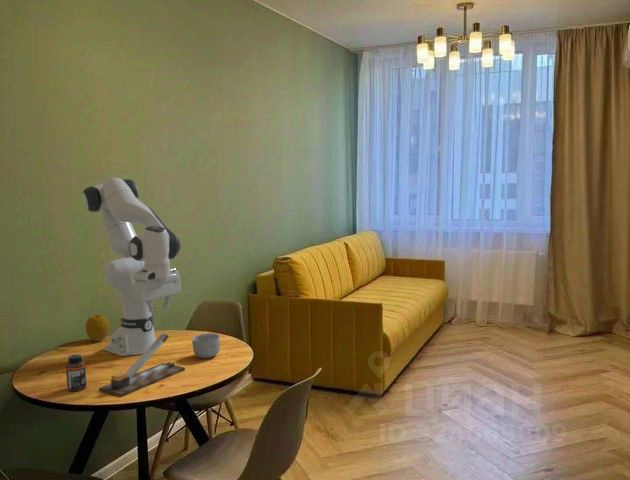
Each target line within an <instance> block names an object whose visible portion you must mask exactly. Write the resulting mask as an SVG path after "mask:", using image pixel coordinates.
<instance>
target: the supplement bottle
mask: <svg viewBox="0 0 630 480" xmlns="http://www.w3.org/2000/svg"><path fill="white" fill-rule="evenodd" d="M82 359H83V357H82V354H72V355H69V356H68V362H67V363H66V364H65V372H66V384H67V385H66V386H67V390H68V391H70V392H80V391H82V389H83V390H85V389H86V388H87V373H86V372H87V371H86V363H85V361H84V360H82ZM79 390H80V391H79Z"/></svg>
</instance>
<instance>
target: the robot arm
mask: <svg viewBox="0 0 630 480" xmlns="http://www.w3.org/2000/svg"><path fill="white" fill-rule="evenodd" d="M81 199H82V202H83V203H82V204H83V205H84V206H85V208H86V209H87V210H88V211H89V212H90V213H91V212H92V213H95V212H96V213H97V212H99V211H100V212H101V211H102V212H101V219H102V225H103V229H104V232H105V235H106V237H107V239H108V243H109V244H110V248H111V249H112V251H113V252H114V253H115V254H118V255H120V256H122V257H121V258H117V259H114V260H112V261H109V262H107V263H106V265H105V266H104V268H103V269H104V270H103V276H104V279H105V282H107V284H109V285H110V286H112V287H113V288H114V289H115V290H116V291H117V292H118V294H119V296H120V299H121V302H122V310H123V313H122V315H123V317H121V318H118V320H119V323H120V327H118V328H117V329H116V330H115V331H114V332H112V333H111V335H110V337H109V338H110V339H109V344H108V345H107V344H106V345H105V346H104V347H103V350H104V351H106V352H108V353H112V354H115V355H118V356H120V357H125V356H137V355H142V354H143V353H144V352H145V351H146V350H147V349H148V348H149V347H150V346H151V345H152V344H153V343H154V342H155V341H156V340H157V338H156V334H155V328H154V326H153V325H154V316H153V314H152V313H154V312H156V306H154V305H153V303H154V300H157V299H161V298H164V302H162V308H163V309H164V310H166V309H169V308H170V302H171V300H172V296H173V295H177V294H180V293H181V292H182V282H181V278H180V272H179V271H178V269H176V268H172V269H171V263H170V262H171V261H170V260H172V259H174V258H175V257H177V255H178V254H179V252H180V251H181V242H180V239H179V238H178V237H177V235H176V234H175V233H174V232H173V231H171V230H170V228H169V227H168V226H167V225H166V224H165V223H164V221H163V220H162V219H161V218H160V217H159V216H158V215H157V213H156V212H155V211H154V210H153V209H152V208H151V207H150V206H148V205H146V204H144V203H143V202H141V200H139V189H138V186H137V185H136V183H135V181H134V180H133V179H128V178H126V179H125V178H124V179H122V178H119V177H110V178H108V179H106V180H105V181H104V182H103V183H100V184H99V183H98V184H96V185H93V186H92V185H90V186H88V187H86V188H84V189H83V191H82V198H81ZM133 224H137V225H141V226H144V229H143V232H142V233H140V234H138V235H137V233H136V231H135V228H134V226H133Z"/></svg>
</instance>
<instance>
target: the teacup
mask: <svg viewBox="0 0 630 480" xmlns="http://www.w3.org/2000/svg"><path fill="white" fill-rule="evenodd" d="M220 340H221V339H220V334H217V333H212V332H207V333H202V334H198V335H195V336H193V337H192V338H191V343H192V349H193V353H194V354H195V356H197V357H198V358H199V359H211V358H213V357H215V356H216V355H217V354H218V353H219V352H220V349H221V341H220Z"/></svg>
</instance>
